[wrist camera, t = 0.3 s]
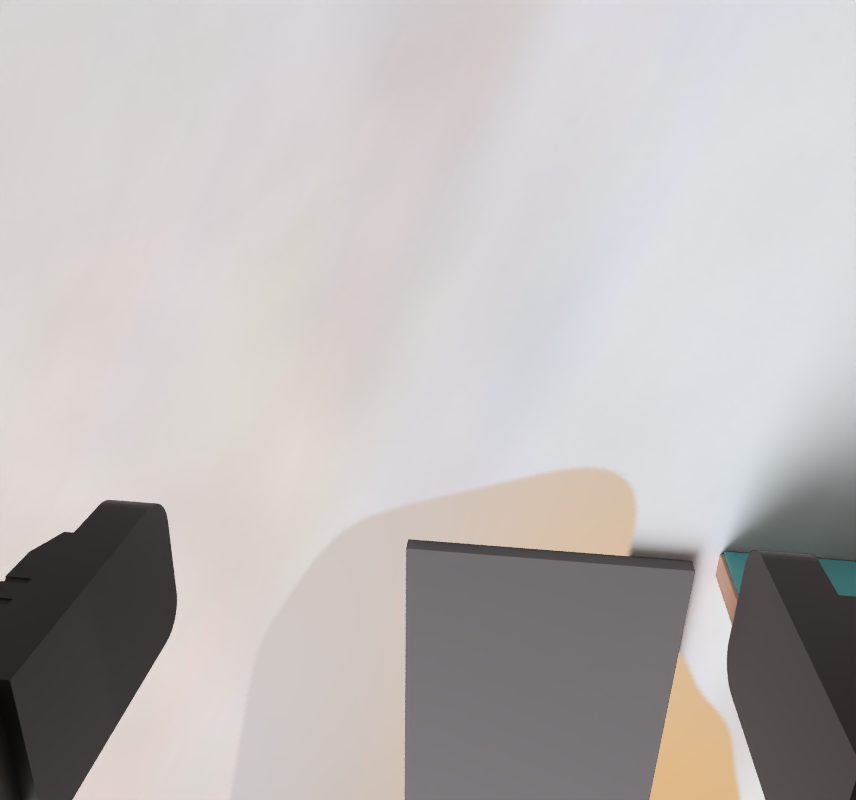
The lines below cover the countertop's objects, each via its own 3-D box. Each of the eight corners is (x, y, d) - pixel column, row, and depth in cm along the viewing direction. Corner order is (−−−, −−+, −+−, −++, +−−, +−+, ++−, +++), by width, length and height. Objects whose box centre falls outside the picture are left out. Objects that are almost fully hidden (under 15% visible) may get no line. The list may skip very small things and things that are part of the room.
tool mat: (408, 539, 32) (406, 548, 32) (691, 561, 31) (695, 571, 31) (405, 889, 42) (404, 901, 42) (622, 914, 41) (623, 926, 41)
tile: (721, 549, 31) (770, 687, 25) (913, 564, 30) (1013, 709, 24) (715, 574, 32) (762, 716, 25) (904, 589, 31) (1000, 738, 25)
